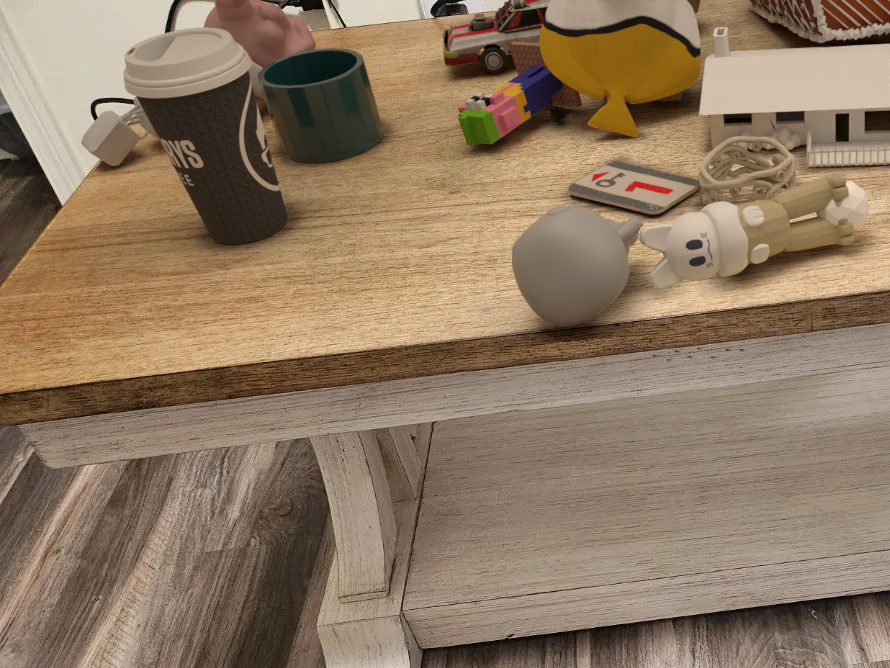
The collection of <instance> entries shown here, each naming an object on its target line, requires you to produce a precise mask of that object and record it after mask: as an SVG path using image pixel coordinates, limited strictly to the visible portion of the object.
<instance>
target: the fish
mask: <svg viewBox="0 0 890 668" xmlns="http://www.w3.org/2000/svg"><path fill="white" fill-rule="evenodd" d="M698 25H699V24H698V21H697V18H696V13H694V10H693V8H692V6H691V4H690V2H689V0H550V2H549V5H548V8H547V11H546V13H545V16H544V20H543V23H542V27H541V31H540V39H539V43H540V52H541V55H542V58H543V61H544V62H545V64H546V66H547V68H548V69H549V70H550V71H551V72H552V73H553V75H554V76H556V77H557V78H558V79H559V80H561V81H562V82H563V83H565V84H566V85H568V86H570V87H571V88H573V89H574V90H576V91H578V92H579V94H581V95H584V96H586V97H588V98H591V99H594V100H599V101H602V100H604V98H605V97H607V99H608V101H607V103H606V104H604V105H603V106H601V107H600V108H599V109H597V111H596V112H595V114H593V115H592V117H590V119H589V121H588V122H587V125H588V126H589V127H592V128H594V129H597V130H601V131H602V130H603V131H607V132H613V133H617V134H621V135H624V136H627V137H631V138H638V137H639V132H638V129H637V126H636V124H635V121H634V119H633V117H632V115H631V112H630V110H629V108H628V106H627V104H626V103H629V104H631V105H636V104H637V105H638V104H643V103H649V102H652V101H656V100H660V99H661V98H664V97H668V96H671V95H674V94H677V93H679V92H681V91H683V92H684V91H685V90H687V89H689V88H691V87H692V86H693V85H694V84H695V83H696V82H697V81H698V79H699V77H700V75H701V70H702V69H701V68H702V52H701V49H702V48H701V39H700V31H699V26H698Z"/></svg>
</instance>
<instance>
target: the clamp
mask: <svg viewBox="0 0 890 668" xmlns="http://www.w3.org/2000/svg"><path fill="white" fill-rule="evenodd" d="M262 69H263V68H262V67H261V66H259V65H258V64H256V63H254V62H253V61H252V65H251V67H250V68H249V70H248V71H249V75H250V79H251V82H252V86H253V90H254V94H255V97H257V98H259V99H261V100H263V101H265V100H264V97H263V94H262V91H261V89H260V86H259V83H258V80H257V79H258V73H259V72H260V71H261V70H262ZM133 105H134V107H133V108H131V109H130V110H129V111H127V112H125V113H124V114H121V115H119V114H117V113H116V112H115V111H113V110H105V111H102V112H101V113H100V114H99V116H98V117H97V118H96V119H95V120H94V122H93V123H92V124H90V127H89V128H88V129H87V130H86V131H85V133H84V134H83V136H82V139H81V142H80V144H81V145H82V146H83V148H85V149H86V150H87V151H88V153H90V154H91V155H92V156H94V157H96V158H97V159H99V160H100V161H102V162H103V163H105V164H107V165H108V166H112V167H116V166H120V165H121V164H122V162H123V161H124V160H125V159H126V157H127V156H128V155H129V154H130V152H131V151H132V150H133V148H135V146H136V145H137V144H138V143H139V141H142V140H144V139H145V138H147V136H148V135H149V134H150V135H152V136H153V137H154V138H156V139H157V140H159V138H158V136H157V134H156V132H155V130H154V129H153V127H152V125H151V123H150V121H149V119H148V117H147V116H146V114H145V112H144V110H143V108H142V106H141V104H140V103H139V101H138V99H137V97H136V96H134V97H133ZM136 119H138V120H136ZM132 120H134V121H132ZM138 124H139V125H140V127H141V128H142V129H144V130H145V132H144V134H143V135H141V136H140V135H139V134H137V132H136V131H135V130H134V129H133V128H132V127H131V126H133V125H138Z"/></svg>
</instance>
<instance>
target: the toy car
mask: <svg viewBox="0 0 890 668" xmlns="http://www.w3.org/2000/svg"><path fill="white" fill-rule="evenodd" d="M549 2H550V0H508V1H504V2H503V5H502V6H501V7H498V8H497V9H498V10H497V11H496V12H495V14H494V15H491V16H485V13H476V14H475V13H474V17H473V18H472V19H469V20H464V21H458V22H452V24H450V26H449V28H444V29H443V30H442V38H443V42H442V44H443V45H442V46H443V47H442V48H443V49H442V50H443V53H442V55H443V60H444V61H443V62H444V64H445V65H446V66H448V67H456V66H464V65H470V64H477V63H479V62H481V64H482V66H483V68H484V70H486V71H488V72H489V73H492V74H499V73H500V72H503V70H505V68H506V66H507V56H509V55H512V53H511V50H510V47H509V44H510V43H511V42H527V43H539V39H540V31H541V27H542V23H543V20H544V16H545V13H546V11H547V8H548V5H549ZM482 50H483V51H482ZM481 51H482V52H481Z"/></svg>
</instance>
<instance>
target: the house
mask: <svg viewBox="0 0 890 668" xmlns="http://www.w3.org/2000/svg"><path fill="white" fill-rule="evenodd" d="M729 37H730V36H729V27H728V26H720V27H715V28H714V30H713V34H712V42H713V43H712V44H713V53H711V54H710V55H709V56H707V57H706V58H705V61H704V68H703V77H702V86H701V95H700V104H699V110H698V116H709V126H710V136H711V148H712V149H714V148H715V147H717V146H718V145H719V144H721V143H722V142H724V141H725V140H727V139H729V138H732V137H736V136H745V137H769V138H772V139H774V140H776V141H778V142H779V143H780V144H782V145H784V146H785V148H786V149H787V150H788V151H792V150H793V149H794V148H797V147H799V146H806V168H816V167H820V168H823V167H827V168H830V167H840V166H841V167H845V166H848V167H851V166H855V167H858V166H862V167H865V166H873V165H876V166H879V165H883V166H886V165H890V129H886V130H885V129H881V130H865V128H866V127H865V124H866V123H865V119H866V118H865V113H866V112H879V111H880V112H881V111H883V112H884V111H890V43H876V44H856V45H855V44H854V45H853V44H851V45H835V46H832V45H831V46H811V47H793V48H791V47H790V48H770V49H769V48H767V49H749V50H730V39H729ZM837 114H848V141H837V138H836V137H837V135H836V133H837V129H836V127H837V125H836V115H837ZM742 118H743V119H744V118H748V119H749V118H751V122H732V123H725V121H726V119H742ZM751 144H752V143H733V144H731V145H738V146H741V147H743V148H745V149H746V150H748V149H749V150H751V151H754V150H753V149H752V147H751ZM756 146H757V145H756ZM762 149H766V150H771V149H772V150H773V149H776V148H775V147H774V146H772V145H770V144H766V143H763V146H762Z"/></svg>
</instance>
